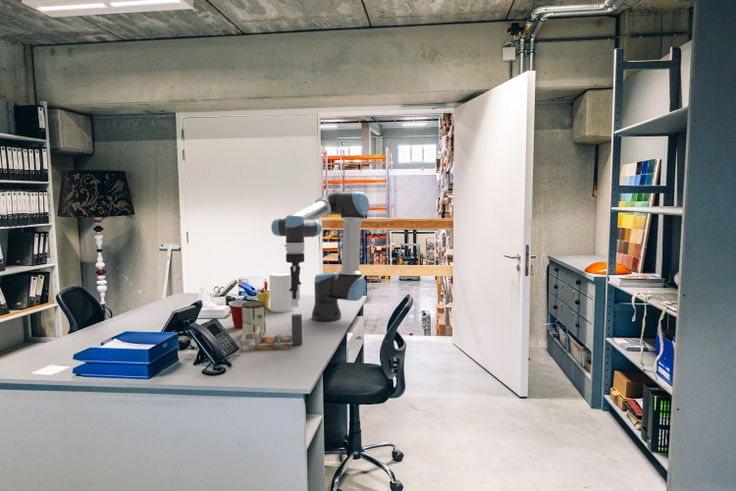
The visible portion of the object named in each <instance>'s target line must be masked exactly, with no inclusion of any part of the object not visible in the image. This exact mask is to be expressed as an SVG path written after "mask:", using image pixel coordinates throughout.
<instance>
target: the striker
mask: <svg viewBox="0 0 736 491" xmlns="http://www.w3.org/2000/svg"><path fill="white" fill-rule="evenodd" d="M302 316H303V315H302V313H299V314H298V313H297V314H295V313H294V314H291V336H292V337H281V336H282V335H281V334H282V333H281V332H277V334H276V336H277V342H276V344H281V343H282V342H285V341H284V340H292V341H291V343H292V344H291V345H292V346H297V345H298V346H299V345H303V318H302Z"/></svg>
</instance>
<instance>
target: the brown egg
mask: <svg viewBox="0 0 736 491" xmlns="http://www.w3.org/2000/svg"><path fill="white" fill-rule="evenodd" d="M273 336H274V335H268V337H267V336H266V337H267V338H266V342H265V344H276V342H275V338H274V337H273Z"/></svg>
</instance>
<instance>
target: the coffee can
mask: <svg viewBox="0 0 736 491" xmlns="http://www.w3.org/2000/svg"><path fill="white" fill-rule="evenodd" d="M242 316H243V328H242V333H243V334H244V333H255V332H256V330H257V328H258V327H261V332H262V337H264V336H265V335H266V334H267V331H266V330H267V329H266V328H267V327H266V302H264V301H259V300H254V301H248V302H245V303H243V304H242ZM243 334H242V335H243Z"/></svg>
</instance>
